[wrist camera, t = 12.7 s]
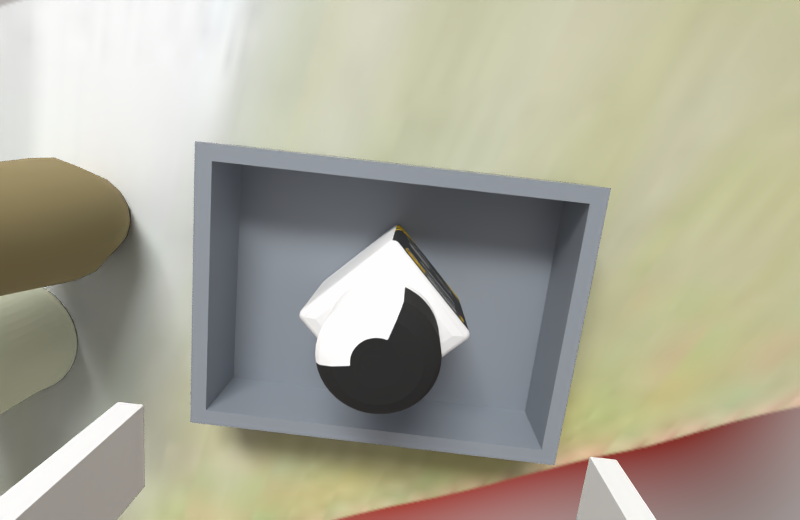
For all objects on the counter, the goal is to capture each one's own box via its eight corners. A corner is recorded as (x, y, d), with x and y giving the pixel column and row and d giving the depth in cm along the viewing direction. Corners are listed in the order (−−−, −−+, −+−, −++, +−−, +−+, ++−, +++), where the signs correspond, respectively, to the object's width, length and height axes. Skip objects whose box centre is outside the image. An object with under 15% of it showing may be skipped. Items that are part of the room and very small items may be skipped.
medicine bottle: (460, 300, 33) (486, 376, 21) (382, 357, 34) (365, 460, 22) (398, 221, 32) (389, 256, 20) (320, 283, 33) (268, 350, 21)
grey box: (577, 183, 32) (610, 188, 26) (533, 419, 36) (554, 465, 30) (231, 144, 32) (195, 141, 27) (224, 383, 36) (190, 422, 30)
